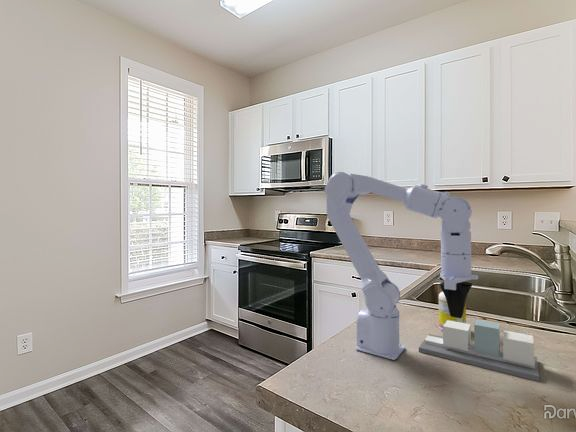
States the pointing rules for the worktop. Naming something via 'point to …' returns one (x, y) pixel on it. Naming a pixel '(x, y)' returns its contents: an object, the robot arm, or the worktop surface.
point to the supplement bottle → (447, 312)
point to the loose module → (487, 338)
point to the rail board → (459, 348)
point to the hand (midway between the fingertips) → (456, 316)
